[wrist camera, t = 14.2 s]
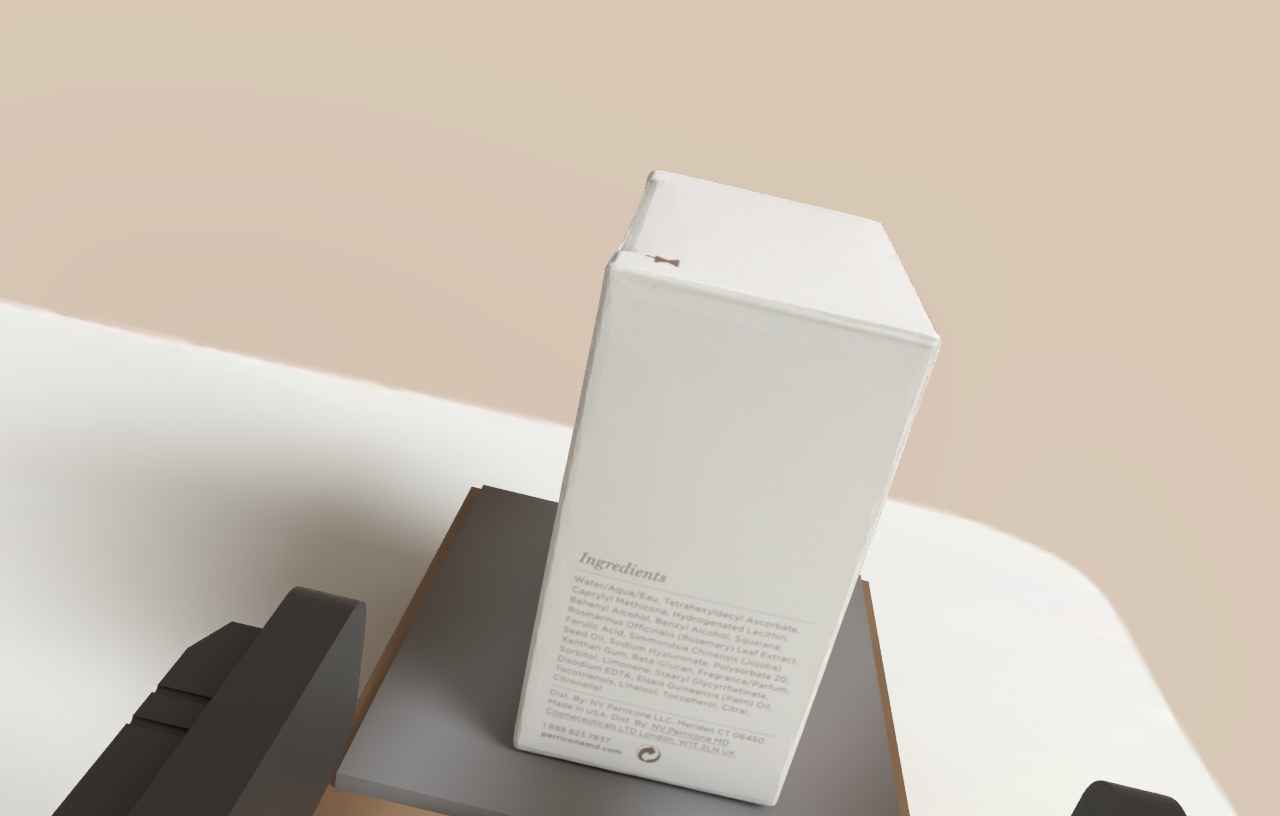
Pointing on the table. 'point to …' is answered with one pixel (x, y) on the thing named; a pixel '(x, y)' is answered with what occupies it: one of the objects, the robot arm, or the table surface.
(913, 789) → the table surface
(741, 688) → the small box
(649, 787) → the plinth
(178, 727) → the robot arm
